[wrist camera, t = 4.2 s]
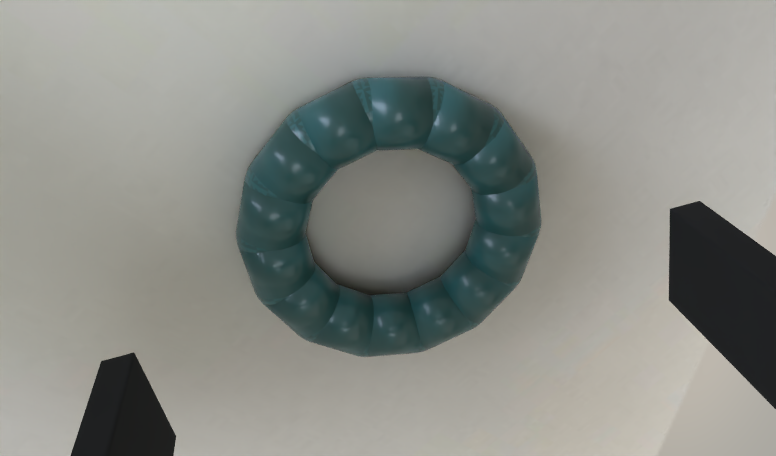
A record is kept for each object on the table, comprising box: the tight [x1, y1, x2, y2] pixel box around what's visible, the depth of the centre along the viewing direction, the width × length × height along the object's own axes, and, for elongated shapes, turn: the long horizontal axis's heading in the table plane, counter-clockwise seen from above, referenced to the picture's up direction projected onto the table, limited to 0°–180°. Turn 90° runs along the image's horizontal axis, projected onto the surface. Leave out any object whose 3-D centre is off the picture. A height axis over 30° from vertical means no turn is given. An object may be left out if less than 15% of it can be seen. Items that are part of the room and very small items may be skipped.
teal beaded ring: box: [236, 77, 541, 357], centre depth 20 cm, size 9×9×2 cm
